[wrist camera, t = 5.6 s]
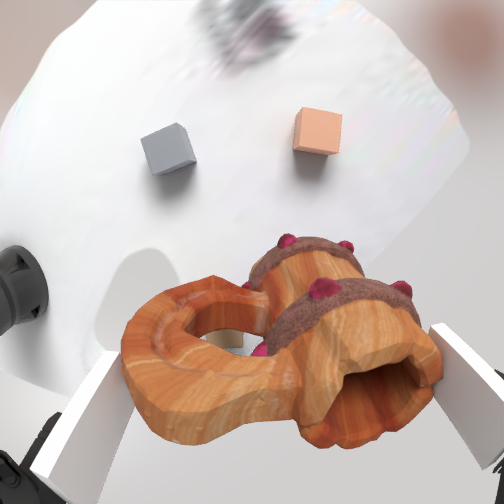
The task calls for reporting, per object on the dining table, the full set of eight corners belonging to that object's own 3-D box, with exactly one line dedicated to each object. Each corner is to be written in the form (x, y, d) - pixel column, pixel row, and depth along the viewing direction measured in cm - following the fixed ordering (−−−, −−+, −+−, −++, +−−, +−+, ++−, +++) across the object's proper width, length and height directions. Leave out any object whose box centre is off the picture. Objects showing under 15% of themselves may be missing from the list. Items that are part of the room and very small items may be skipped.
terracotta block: (292, 149, 36) (299, 145, 31) (296, 115, 34) (302, 107, 30) (327, 155, 36) (338, 152, 31) (331, 121, 35) (342, 114, 30)
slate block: (164, 174, 36) (152, 175, 32) (153, 142, 35) (140, 139, 30) (196, 161, 36) (189, 159, 31) (185, 129, 35) (176, 122, 30)
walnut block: (212, 330, 43) (208, 348, 38) (207, 303, 42) (202, 318, 37) (243, 329, 43) (242, 347, 38) (240, 301, 42) (239, 317, 37)
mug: (362, 234, 21) (506, 318, 7) (341, 324, 23) (424, 455, 9) (176, 214, 20) (59, 297, 6) (173, 312, 22) (114, 466, 8)
